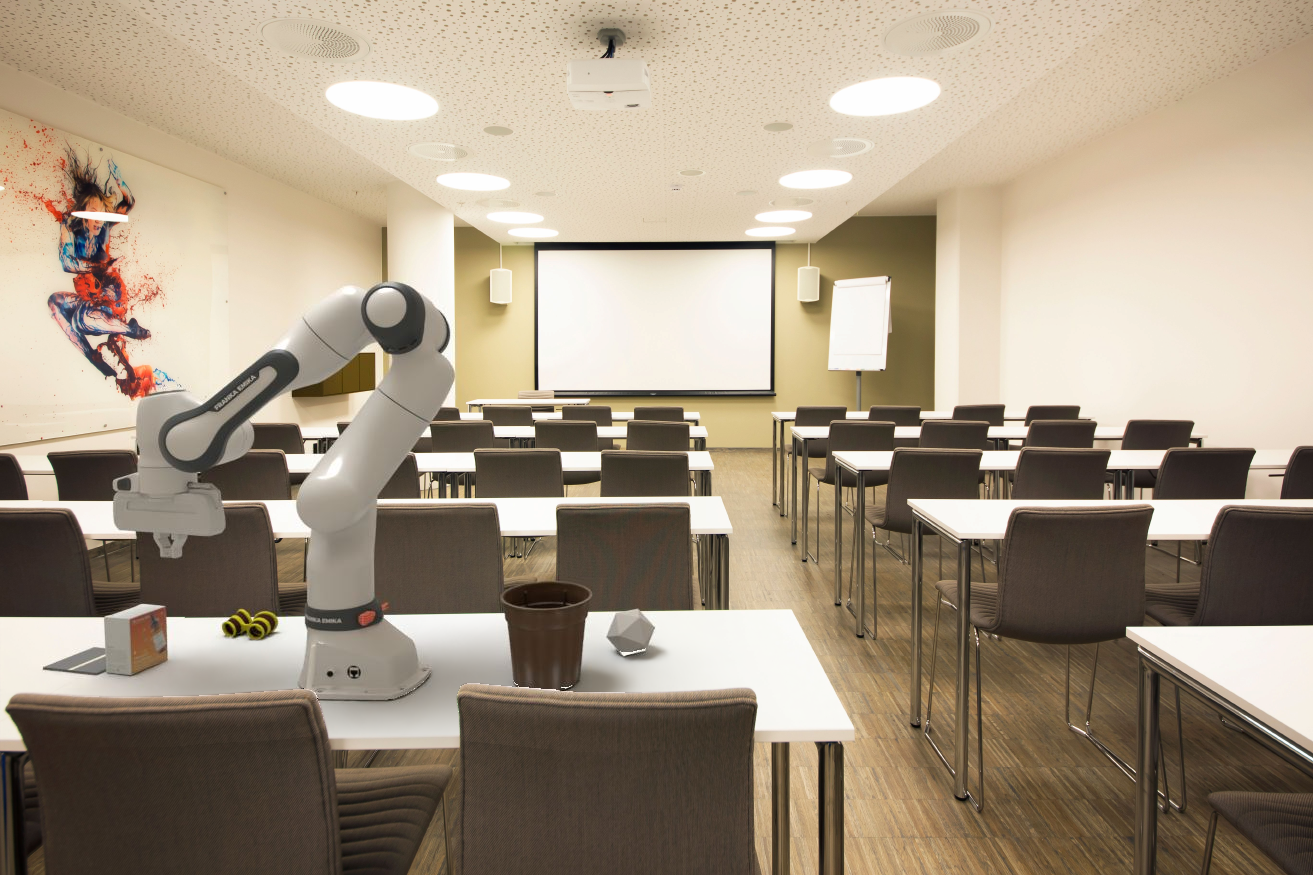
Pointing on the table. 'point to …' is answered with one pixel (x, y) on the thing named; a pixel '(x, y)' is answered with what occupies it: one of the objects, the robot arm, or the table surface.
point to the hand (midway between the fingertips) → (171, 556)
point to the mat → (82, 662)
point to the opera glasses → (250, 624)
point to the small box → (135, 639)
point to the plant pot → (546, 632)
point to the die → (630, 631)
